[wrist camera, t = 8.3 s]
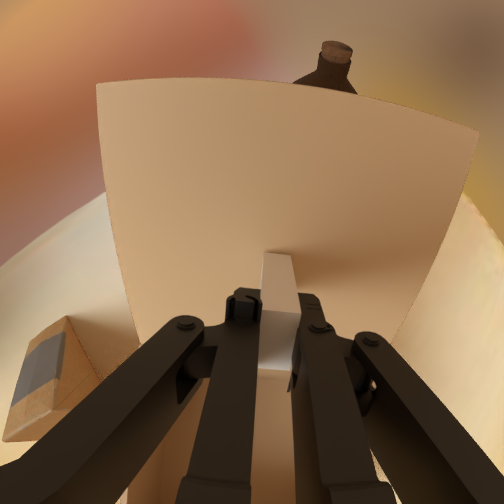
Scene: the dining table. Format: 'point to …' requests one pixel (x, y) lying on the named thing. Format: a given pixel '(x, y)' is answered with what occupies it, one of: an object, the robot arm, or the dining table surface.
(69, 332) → the sandwich container
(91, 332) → the dining table surface
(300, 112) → the lid flap
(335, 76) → the olive oil
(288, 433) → the carton
